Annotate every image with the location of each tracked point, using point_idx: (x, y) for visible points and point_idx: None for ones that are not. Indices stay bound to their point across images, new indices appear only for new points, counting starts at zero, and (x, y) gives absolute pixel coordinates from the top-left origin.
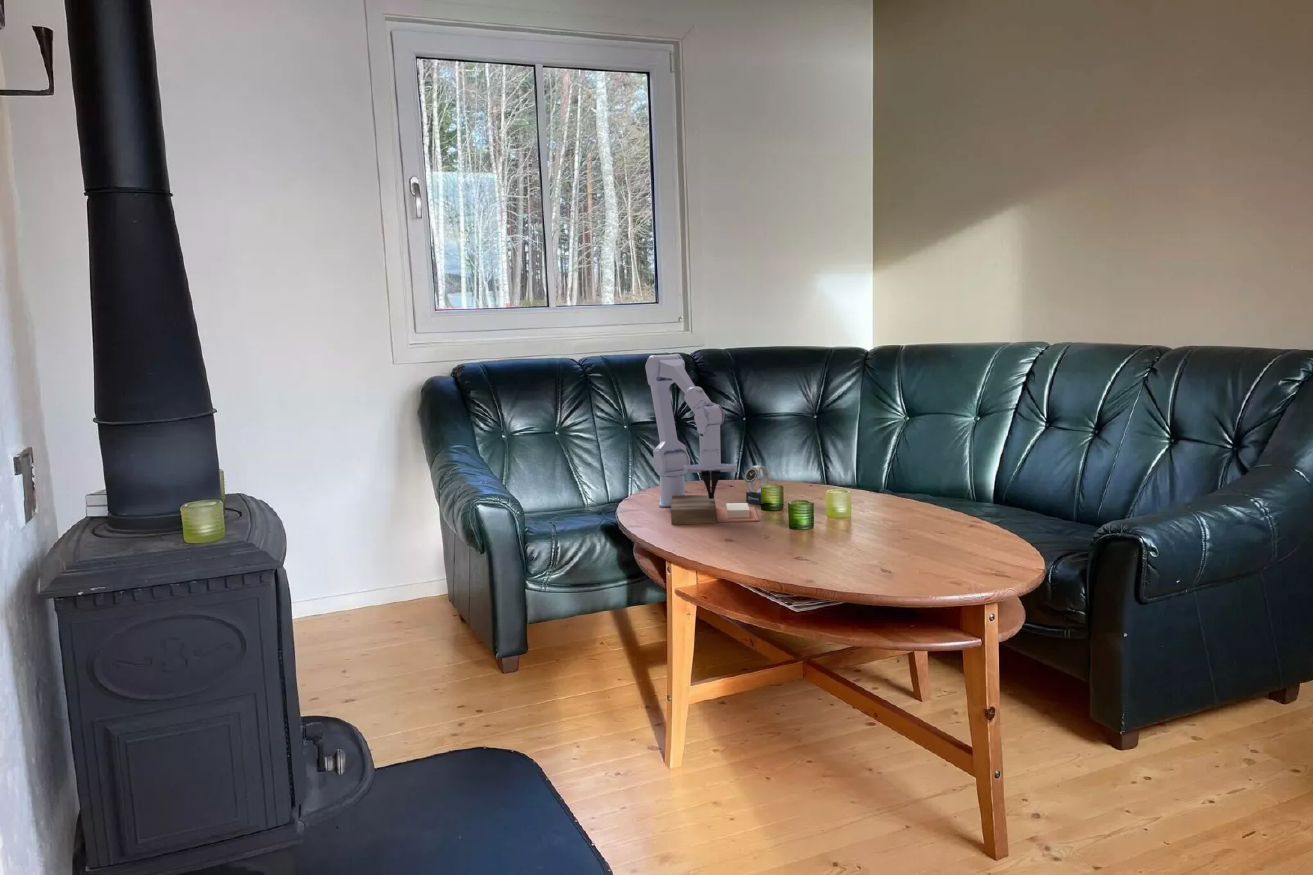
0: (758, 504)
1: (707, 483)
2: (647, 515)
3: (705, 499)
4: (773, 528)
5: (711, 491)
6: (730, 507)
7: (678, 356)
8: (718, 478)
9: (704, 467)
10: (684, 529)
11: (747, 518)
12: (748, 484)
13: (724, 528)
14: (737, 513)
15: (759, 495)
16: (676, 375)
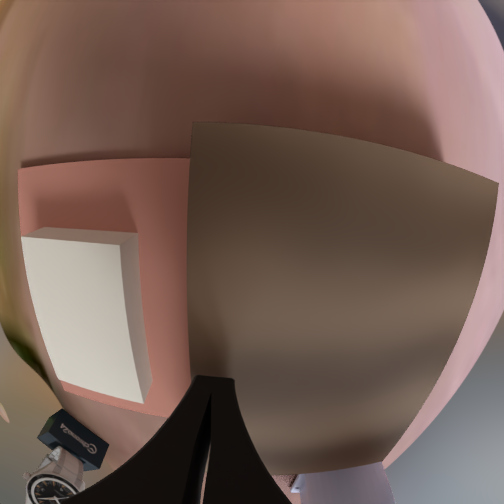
0: (67, 414)
1: (242, 483)
2: (467, 345)
3: (251, 421)
4: (12, 58)
5: (204, 422)
6: (107, 320)
7: None
8: (80, 497)
9: None
10: (395, 54)
11: (50, 200)
12: (72, 477)
13: (184, 26)
14: (77, 235)
15: (51, 431)
16: None
